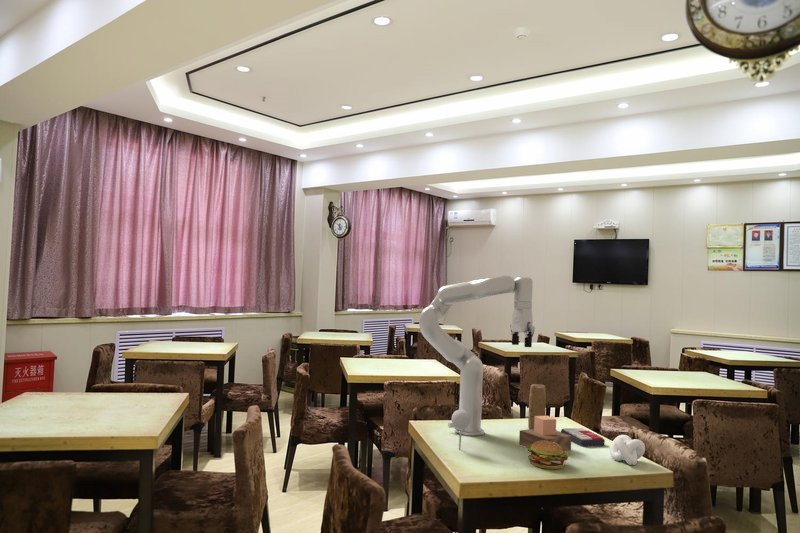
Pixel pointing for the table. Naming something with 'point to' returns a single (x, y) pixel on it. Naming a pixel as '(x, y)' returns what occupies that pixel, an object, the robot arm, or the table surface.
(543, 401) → the brown rock
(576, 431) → the calculator
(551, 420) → the terracotta cube
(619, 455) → the white knot
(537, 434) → the walnut block
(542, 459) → the food
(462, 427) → the lollipop
